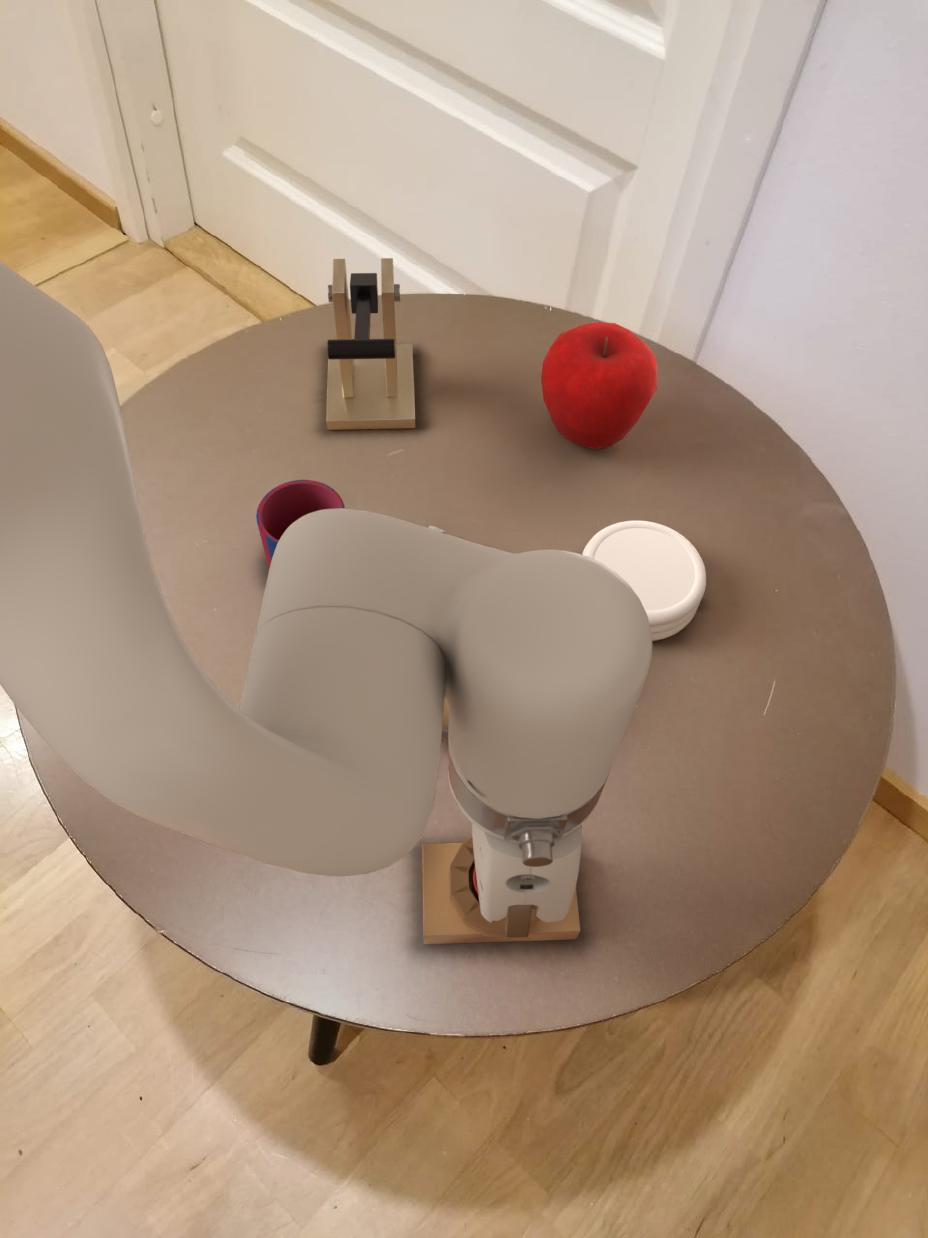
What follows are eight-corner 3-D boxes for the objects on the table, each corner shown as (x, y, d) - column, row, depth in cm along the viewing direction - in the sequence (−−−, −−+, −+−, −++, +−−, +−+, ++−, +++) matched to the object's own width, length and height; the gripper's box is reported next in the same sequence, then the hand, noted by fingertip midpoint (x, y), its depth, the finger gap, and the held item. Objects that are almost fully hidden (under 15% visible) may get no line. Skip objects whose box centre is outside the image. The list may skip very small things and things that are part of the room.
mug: (338, 524, 79) (331, 470, 74) (373, 618, 74) (368, 568, 69) (260, 544, 78) (247, 491, 72) (290, 642, 73) (278, 592, 67)
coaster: (714, 633, 75) (726, 609, 72) (594, 653, 73) (601, 630, 70) (674, 535, 80) (683, 509, 77) (561, 552, 78) (566, 526, 75)
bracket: (415, 428, 86) (413, 314, 75) (327, 430, 85) (312, 315, 74) (412, 353, 91) (409, 236, 80) (329, 354, 90) (316, 237, 80)
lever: (395, 367, 71) (394, 337, 69) (328, 368, 71) (326, 338, 69) (394, 300, 81) (393, 272, 79) (336, 300, 80) (334, 273, 79)
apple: (516, 444, 85) (527, 350, 76) (562, 380, 90) (577, 284, 80) (616, 486, 83) (639, 395, 73) (657, 418, 87) (684, 324, 78)
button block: (423, 948, 61) (423, 932, 57) (422, 851, 64) (421, 830, 61) (576, 943, 61) (585, 927, 58) (566, 847, 65) (574, 826, 61)
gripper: (628, 916, 40) (574, 1000, 55) (589, 621, 48) (552, 766, 63) (452, 922, 40) (447, 1005, 55) (443, 623, 48) (441, 769, 63)
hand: (503, 877), depth 59 cm, fingers closed
